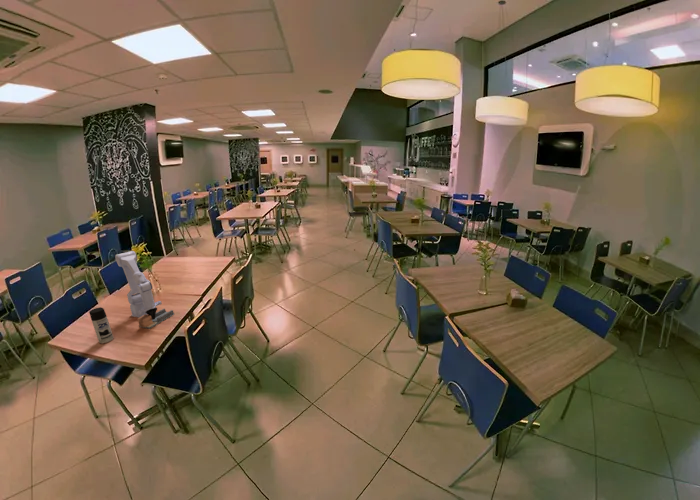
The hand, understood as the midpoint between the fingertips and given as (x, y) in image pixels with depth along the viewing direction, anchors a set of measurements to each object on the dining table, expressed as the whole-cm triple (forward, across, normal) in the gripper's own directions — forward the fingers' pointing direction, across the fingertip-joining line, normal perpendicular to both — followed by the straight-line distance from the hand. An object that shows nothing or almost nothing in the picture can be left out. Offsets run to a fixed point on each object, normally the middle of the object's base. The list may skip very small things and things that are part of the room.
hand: (153, 319), depth 185 cm
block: (+1, -5, 0) cm, 5 cm away
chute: (+2, +2, 0) cm, 3 cm away
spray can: (+3, -23, +9) cm, 25 cm away
